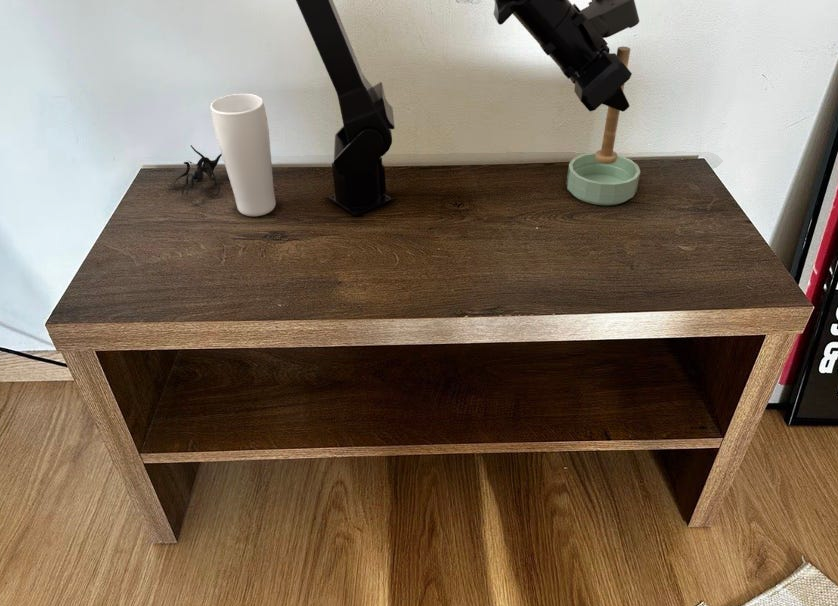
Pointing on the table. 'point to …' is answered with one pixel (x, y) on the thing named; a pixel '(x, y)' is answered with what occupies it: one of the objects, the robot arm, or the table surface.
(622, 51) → the stick
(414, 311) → the table surface
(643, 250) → the table surface
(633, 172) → the bowl
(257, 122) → the drinking glass
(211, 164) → the creature
